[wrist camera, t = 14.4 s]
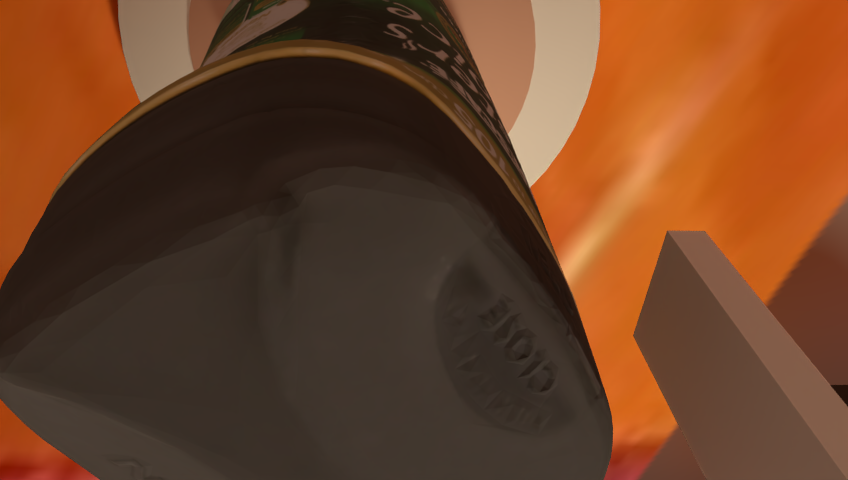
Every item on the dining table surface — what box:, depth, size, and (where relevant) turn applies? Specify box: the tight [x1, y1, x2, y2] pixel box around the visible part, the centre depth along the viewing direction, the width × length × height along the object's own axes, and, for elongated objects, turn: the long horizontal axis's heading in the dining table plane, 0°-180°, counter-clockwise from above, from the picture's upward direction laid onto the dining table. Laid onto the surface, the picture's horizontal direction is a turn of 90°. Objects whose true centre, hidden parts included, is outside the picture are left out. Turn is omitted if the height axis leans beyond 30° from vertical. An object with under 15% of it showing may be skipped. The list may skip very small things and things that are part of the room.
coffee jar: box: [0, 0, 613, 480], centre depth 16 cm, size 10×8×19 cm
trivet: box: [118, 0, 600, 187], centre depth 24 cm, size 18×18×1 cm
